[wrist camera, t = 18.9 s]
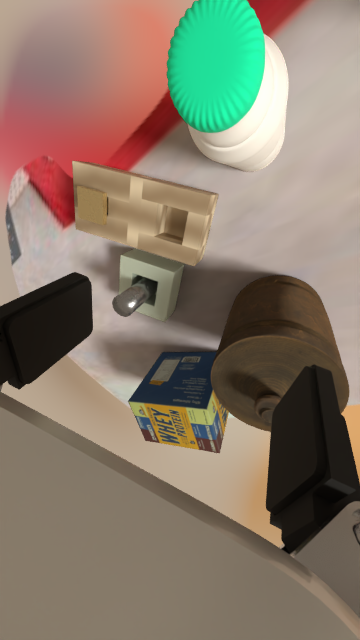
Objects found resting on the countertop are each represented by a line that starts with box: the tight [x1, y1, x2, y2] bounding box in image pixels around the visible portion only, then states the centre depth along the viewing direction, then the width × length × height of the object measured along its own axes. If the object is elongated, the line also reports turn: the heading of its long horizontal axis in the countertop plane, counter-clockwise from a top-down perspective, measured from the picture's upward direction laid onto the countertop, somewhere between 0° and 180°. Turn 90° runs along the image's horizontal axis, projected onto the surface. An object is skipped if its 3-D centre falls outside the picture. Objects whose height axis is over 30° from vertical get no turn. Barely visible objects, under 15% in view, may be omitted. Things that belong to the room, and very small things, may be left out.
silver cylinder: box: [112, 277, 158, 317], centre depth 41 cm, size 4×4×11 cm
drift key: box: [77, 186, 109, 225], centre depth 38 cm, size 4×4×5 cm
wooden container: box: [211, 275, 349, 432], centre depth 33 cm, size 15×15×22 cm
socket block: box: [72, 161, 219, 266], centre depth 38 cm, size 10×22×5 cm, turn 79°
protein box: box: [128, 352, 229, 453], centre depth 48 cm, size 10×15×16 cm
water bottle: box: [167, 0, 288, 172], centre depth 21 cm, size 7×7×25 cm
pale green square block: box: [119, 248, 184, 322], centre depth 44 cm, size 10×10×5 cm
